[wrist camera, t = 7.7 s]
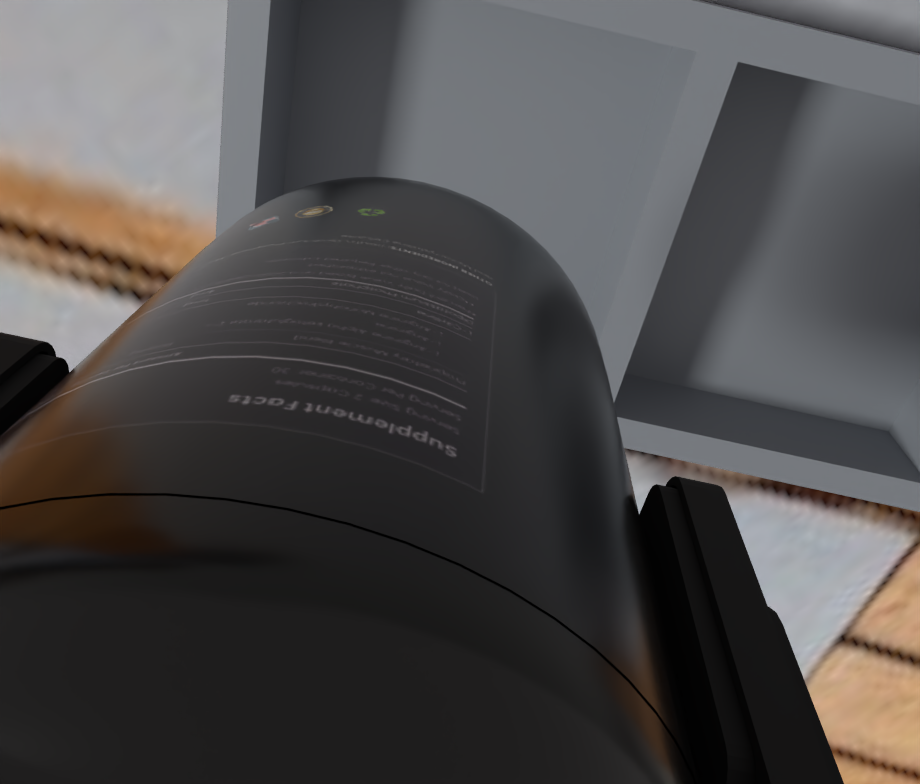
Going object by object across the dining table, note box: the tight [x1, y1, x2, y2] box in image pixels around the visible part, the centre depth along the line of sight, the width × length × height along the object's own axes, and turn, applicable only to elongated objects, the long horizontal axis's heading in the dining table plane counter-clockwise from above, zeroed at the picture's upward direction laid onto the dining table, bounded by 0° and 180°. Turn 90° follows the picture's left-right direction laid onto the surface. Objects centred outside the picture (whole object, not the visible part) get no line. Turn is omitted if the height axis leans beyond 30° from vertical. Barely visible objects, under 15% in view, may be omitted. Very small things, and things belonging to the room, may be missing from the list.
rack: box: [216, 0, 920, 512], centre depth 22 cm, size 23×12×4 cm, turn 78°
